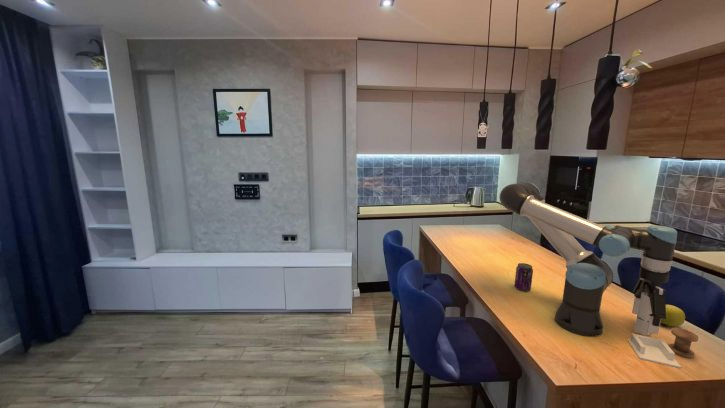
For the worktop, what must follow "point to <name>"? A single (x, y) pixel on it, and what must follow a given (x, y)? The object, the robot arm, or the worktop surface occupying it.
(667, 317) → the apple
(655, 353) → the notch board
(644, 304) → the tube
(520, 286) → the beverage can
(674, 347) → the wooden cabinet knob
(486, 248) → the worktop surface
